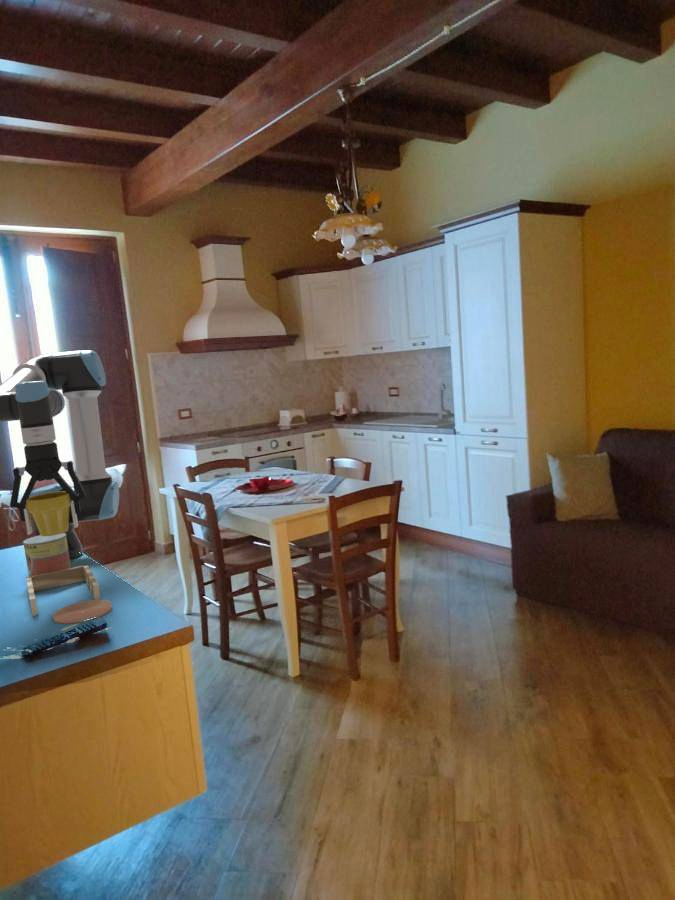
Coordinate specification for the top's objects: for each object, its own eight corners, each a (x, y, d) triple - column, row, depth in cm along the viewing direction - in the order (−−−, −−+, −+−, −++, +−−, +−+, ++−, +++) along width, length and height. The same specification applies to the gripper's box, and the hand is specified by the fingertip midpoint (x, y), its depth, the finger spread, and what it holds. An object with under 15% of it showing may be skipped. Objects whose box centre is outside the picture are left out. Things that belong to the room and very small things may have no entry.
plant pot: (27, 540, 161) (20, 501, 160) (37, 531, 171) (31, 494, 170) (71, 534, 163) (65, 496, 162) (79, 525, 173) (73, 489, 172)
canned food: (25, 580, 188) (18, 539, 186) (66, 570, 194) (60, 530, 193) (34, 588, 179) (27, 545, 177) (77, 577, 185) (71, 536, 184)
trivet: (62, 607, 161) (61, 604, 161) (116, 599, 162) (116, 596, 162) (46, 627, 148) (45, 623, 148) (105, 619, 150) (105, 615, 149)
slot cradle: (28, 591, 176) (25, 577, 176) (89, 578, 183) (87, 564, 183) (32, 615, 157) (29, 599, 156) (100, 599, 164) (98, 584, 163)
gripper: (-14, 450, 157) (1, 540, 160) (87, 439, 163) (99, 525, 166) (-7, 447, 164) (7, 533, 167) (89, 436, 171) (101, 519, 173)
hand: (53, 529), depth 167 cm, fingers closed on plant pot, 10 cm apart
